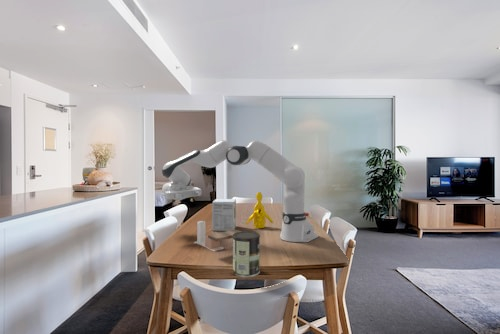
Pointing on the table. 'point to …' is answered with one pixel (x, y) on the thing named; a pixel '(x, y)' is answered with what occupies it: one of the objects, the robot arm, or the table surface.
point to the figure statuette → (259, 214)
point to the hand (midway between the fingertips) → (190, 195)
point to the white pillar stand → (203, 235)
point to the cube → (211, 243)
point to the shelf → (223, 235)
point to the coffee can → (246, 254)
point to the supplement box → (223, 214)
